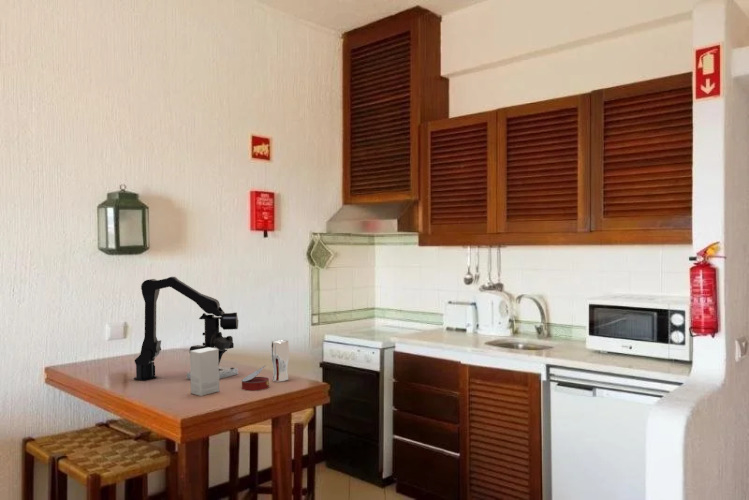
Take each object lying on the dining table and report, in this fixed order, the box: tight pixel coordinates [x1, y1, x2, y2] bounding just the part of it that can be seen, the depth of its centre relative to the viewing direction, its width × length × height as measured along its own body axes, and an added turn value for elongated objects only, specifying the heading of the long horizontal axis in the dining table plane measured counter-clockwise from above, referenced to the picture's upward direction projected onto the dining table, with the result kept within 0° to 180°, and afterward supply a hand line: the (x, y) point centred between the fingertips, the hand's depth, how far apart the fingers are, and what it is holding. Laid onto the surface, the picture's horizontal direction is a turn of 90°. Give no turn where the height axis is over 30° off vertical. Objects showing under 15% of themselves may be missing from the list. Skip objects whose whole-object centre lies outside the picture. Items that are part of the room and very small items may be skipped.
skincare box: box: [189, 347, 220, 397], centre depth 213 cm, size 8×7×16 cm
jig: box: [186, 365, 239, 380], centre depth 241 cm, size 16×12×3 cm
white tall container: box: [270, 339, 290, 383], centre depth 232 cm, size 7×7×15 cm
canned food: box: [241, 365, 270, 391], centre depth 220 cm, size 11×10×10 cm
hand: (212, 368), depth 241 cm, fingers closed on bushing, 4 cm apart
